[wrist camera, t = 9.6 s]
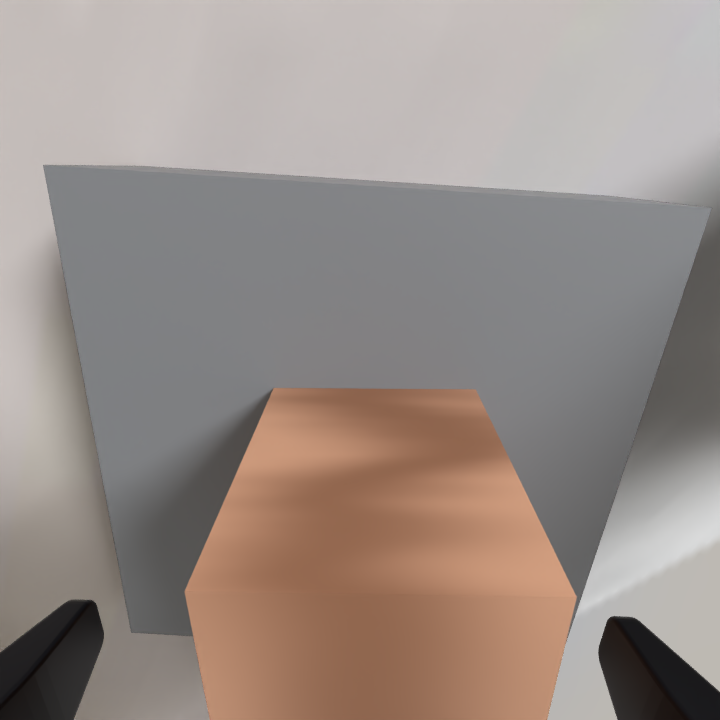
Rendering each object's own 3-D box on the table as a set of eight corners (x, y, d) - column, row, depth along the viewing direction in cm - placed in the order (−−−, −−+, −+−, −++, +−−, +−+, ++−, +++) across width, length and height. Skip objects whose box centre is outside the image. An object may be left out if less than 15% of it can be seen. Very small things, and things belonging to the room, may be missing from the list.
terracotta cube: (475, 389, 11) (576, 597, 6) (459, 545, 13) (524, 815, 8) (273, 387, 11) (184, 591, 6) (286, 543, 13) (227, 808, 8)
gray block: (601, 195, 14) (711, 207, 10) (516, 543, 20) (560, 657, 15) (149, 166, 14) (42, 164, 10) (187, 522, 20) (131, 632, 15)
